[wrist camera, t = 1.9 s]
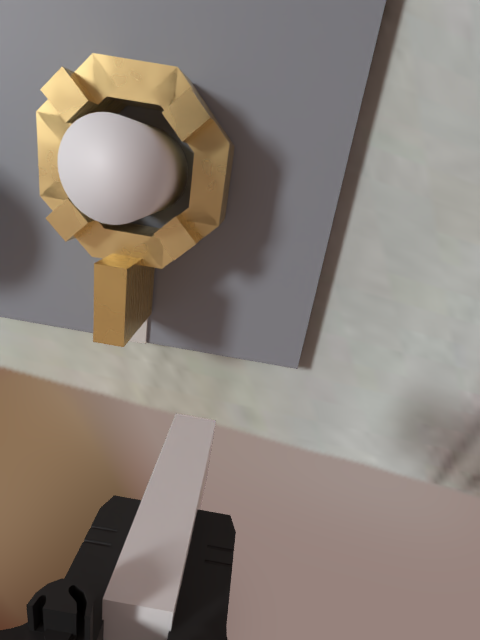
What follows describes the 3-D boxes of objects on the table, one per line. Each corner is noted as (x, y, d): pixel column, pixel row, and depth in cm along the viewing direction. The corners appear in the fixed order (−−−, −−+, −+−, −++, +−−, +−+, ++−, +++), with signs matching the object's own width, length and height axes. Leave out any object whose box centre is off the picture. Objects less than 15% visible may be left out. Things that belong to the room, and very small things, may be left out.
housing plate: (-48, -100, 21) (-208, -235, 14) (389, -32, 20) (450, -134, 13) (-8, 308, 30) (-92, 350, 23) (296, 361, 29) (303, 420, 23)
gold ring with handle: (63, 59, 22) (0, 26, 17) (242, 88, 22) (233, 63, 17) (67, 299, 27) (21, 329, 22) (210, 323, 27) (196, 359, 22)
